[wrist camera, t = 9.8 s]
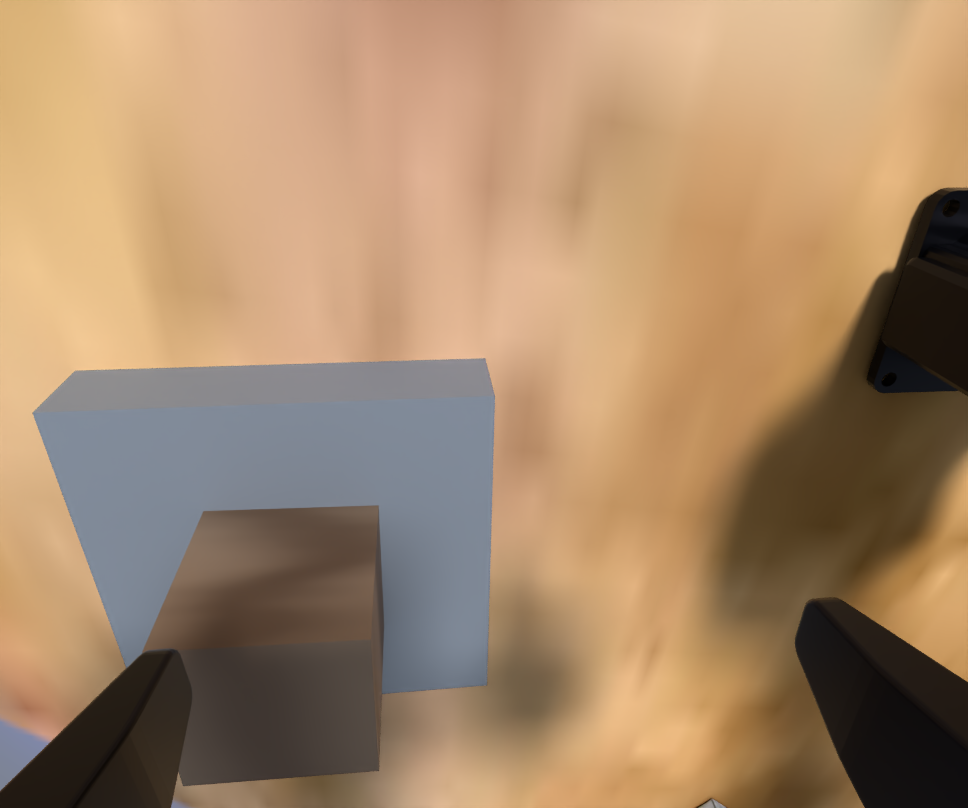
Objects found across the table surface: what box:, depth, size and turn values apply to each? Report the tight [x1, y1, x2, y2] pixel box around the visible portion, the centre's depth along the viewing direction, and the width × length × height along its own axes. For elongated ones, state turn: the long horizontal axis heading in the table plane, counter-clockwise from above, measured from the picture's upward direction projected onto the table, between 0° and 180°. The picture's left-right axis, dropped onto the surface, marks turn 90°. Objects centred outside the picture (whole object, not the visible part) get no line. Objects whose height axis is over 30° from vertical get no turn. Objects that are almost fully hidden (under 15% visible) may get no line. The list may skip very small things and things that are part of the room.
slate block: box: [33, 358, 495, 694], centre depth 21 cm, size 12×12×3 cm
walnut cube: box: [142, 505, 384, 786], centre depth 18 cm, size 5×5×5 cm
